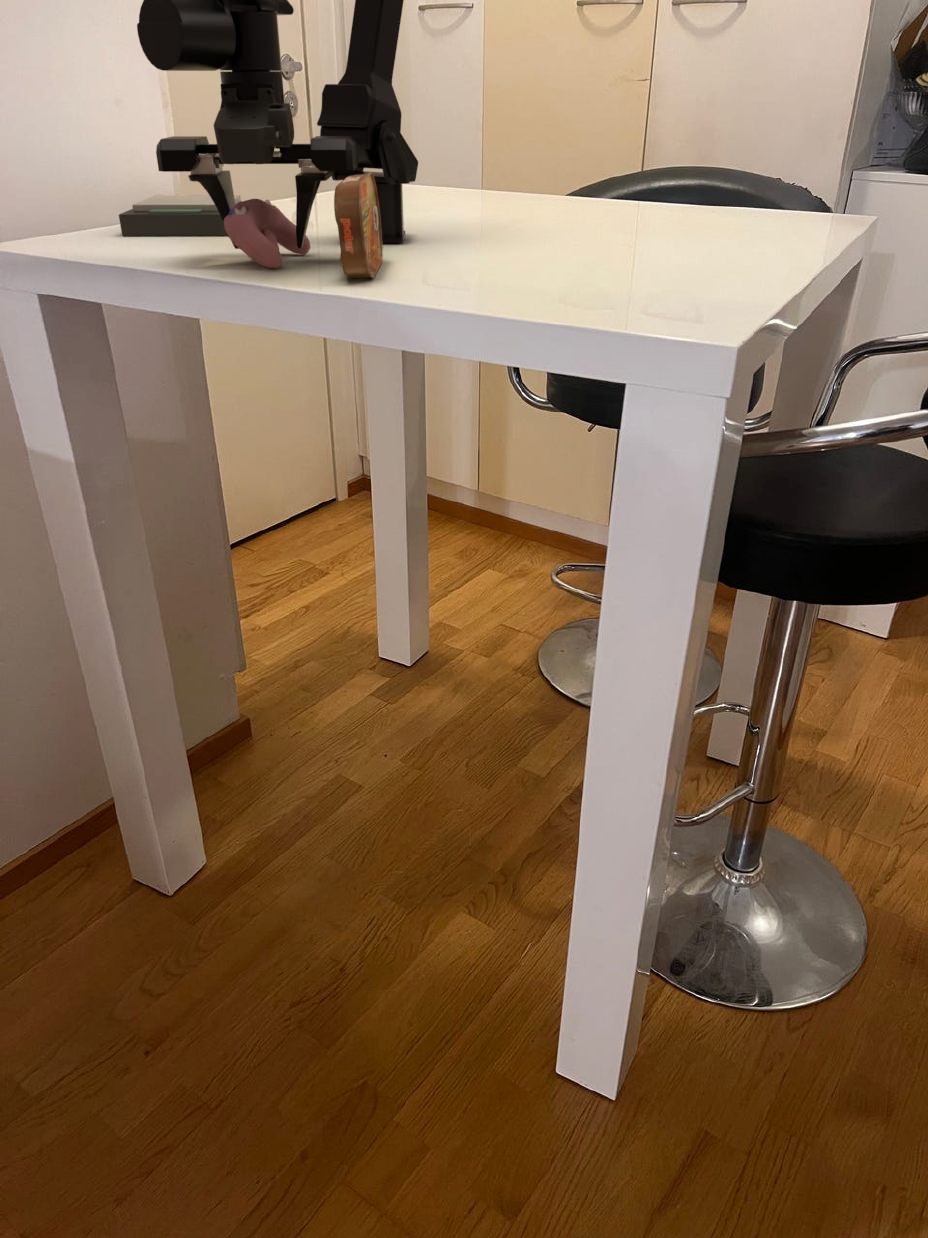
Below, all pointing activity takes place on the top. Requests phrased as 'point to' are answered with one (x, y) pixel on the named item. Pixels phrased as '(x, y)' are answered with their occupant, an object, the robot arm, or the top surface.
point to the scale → (174, 217)
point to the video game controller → (262, 232)
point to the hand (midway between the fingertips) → (268, 247)
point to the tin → (359, 225)
